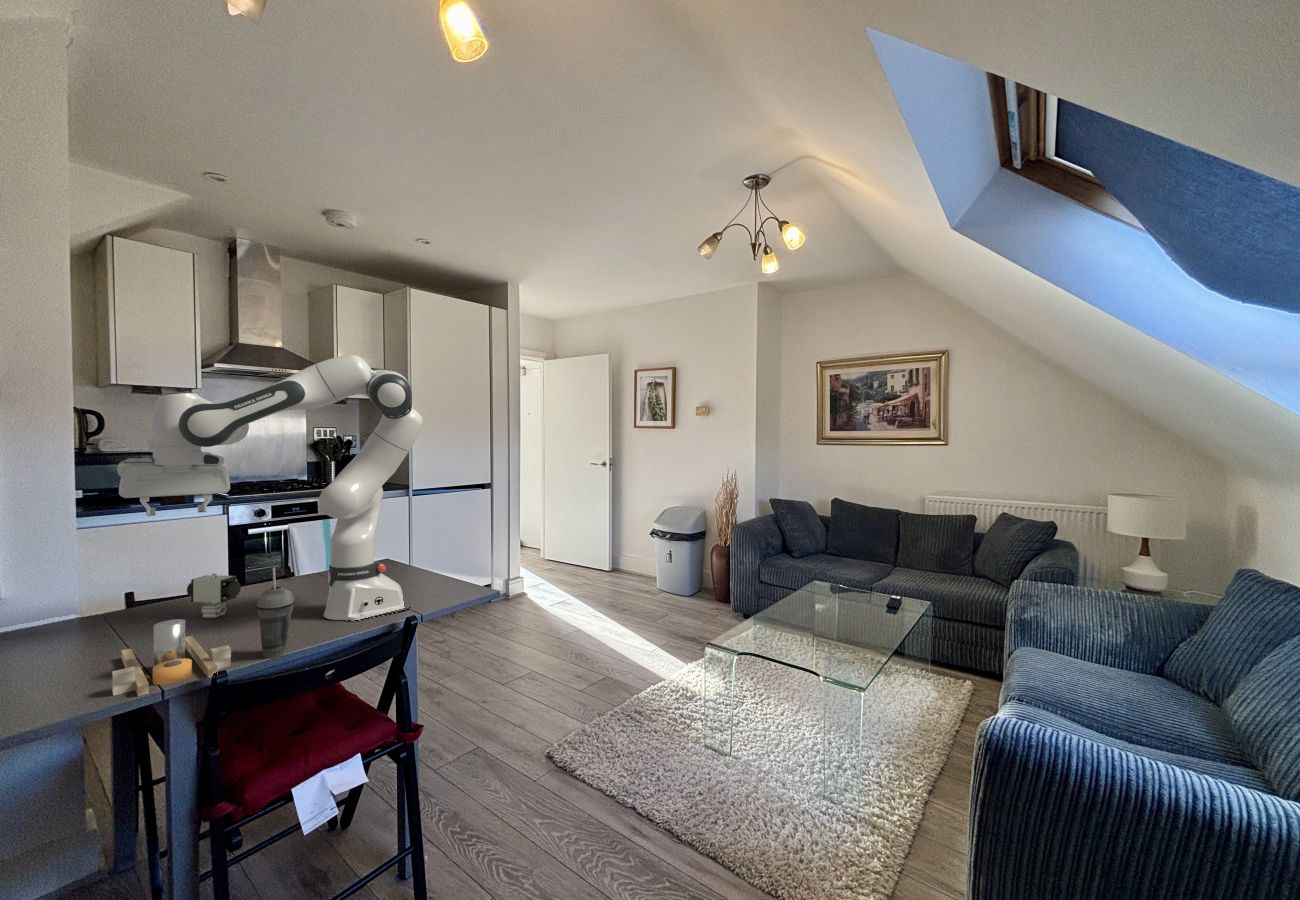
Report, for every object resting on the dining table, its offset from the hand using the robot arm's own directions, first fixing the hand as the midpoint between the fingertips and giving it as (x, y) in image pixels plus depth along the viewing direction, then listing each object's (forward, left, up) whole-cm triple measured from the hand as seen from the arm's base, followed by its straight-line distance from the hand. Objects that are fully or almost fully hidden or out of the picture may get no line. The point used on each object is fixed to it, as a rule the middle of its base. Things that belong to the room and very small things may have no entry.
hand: (177, 513), depth 129 cm
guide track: (-1, +20, -31) cm, 37 cm away
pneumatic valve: (-6, -17, -31) cm, 36 cm away
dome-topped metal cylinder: (-2, +21, -31) cm, 38 cm away
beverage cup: (-20, +24, -31) cm, 44 cm away
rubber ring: (-3, +27, -31) cm, 42 cm away
